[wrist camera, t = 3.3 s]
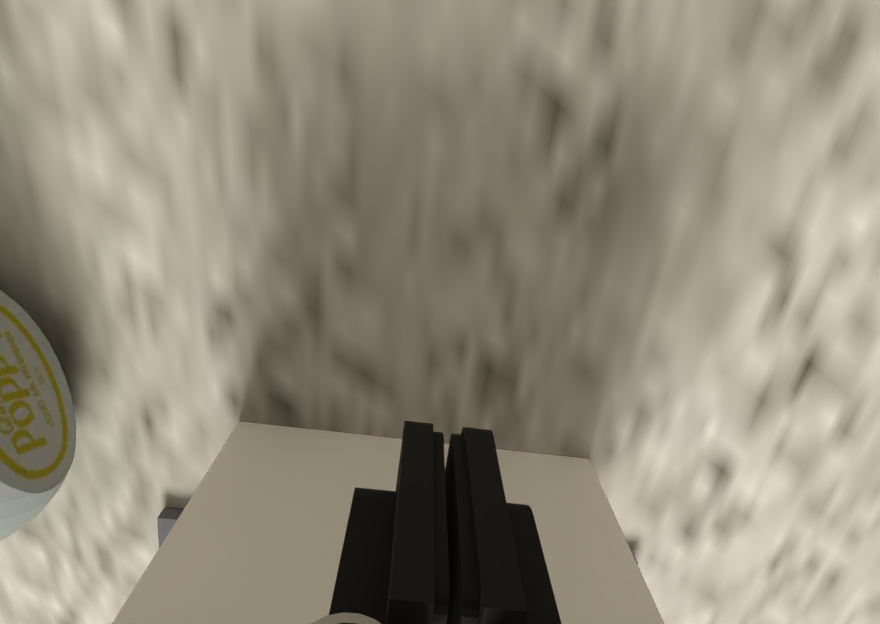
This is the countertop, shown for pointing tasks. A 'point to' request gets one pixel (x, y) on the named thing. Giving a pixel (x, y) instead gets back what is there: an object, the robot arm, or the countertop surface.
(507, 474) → the tile
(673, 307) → the countertop surface
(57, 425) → the air freshener
